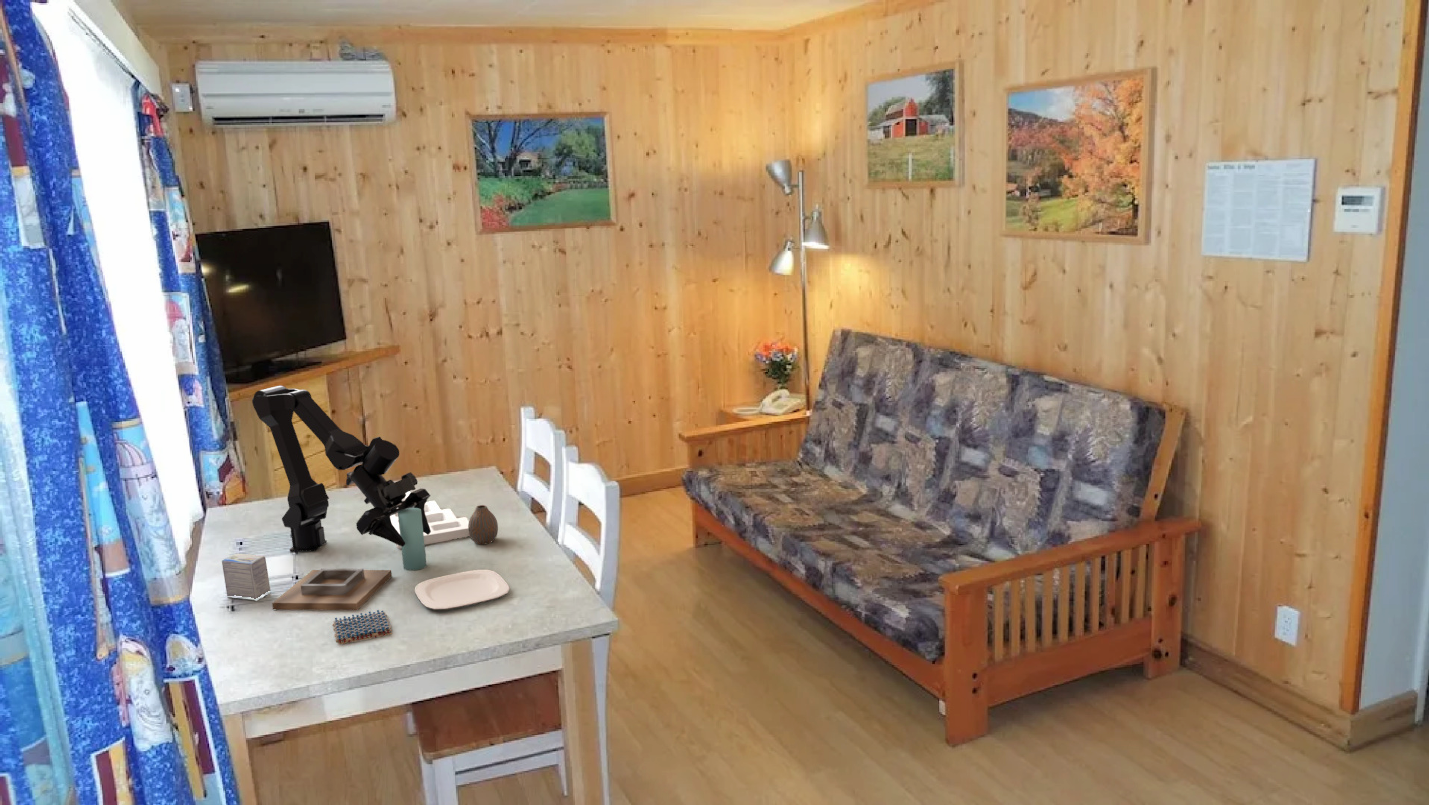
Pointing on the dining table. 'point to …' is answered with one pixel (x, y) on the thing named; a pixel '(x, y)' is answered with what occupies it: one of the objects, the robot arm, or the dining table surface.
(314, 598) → the board
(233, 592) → the medicine box
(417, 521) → the pin
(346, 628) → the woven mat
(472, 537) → the vase
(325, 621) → the dining table surface
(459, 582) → the plate
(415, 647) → the dining table surface
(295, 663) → the dining table surface
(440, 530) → the holder
